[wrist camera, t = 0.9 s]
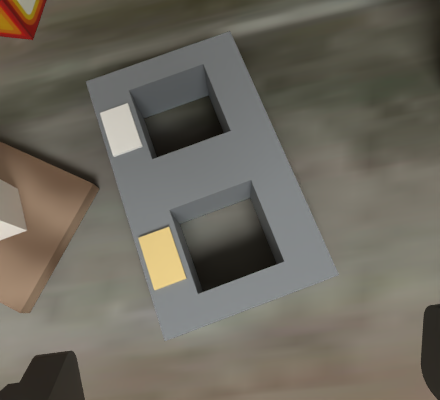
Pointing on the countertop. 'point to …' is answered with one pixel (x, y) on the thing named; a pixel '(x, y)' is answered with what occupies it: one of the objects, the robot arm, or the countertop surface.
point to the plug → (10, 211)
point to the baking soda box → (20, 17)
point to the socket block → (204, 182)
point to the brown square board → (38, 224)
